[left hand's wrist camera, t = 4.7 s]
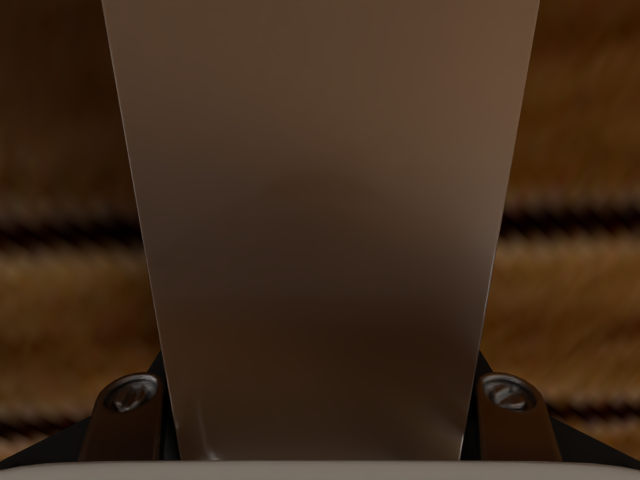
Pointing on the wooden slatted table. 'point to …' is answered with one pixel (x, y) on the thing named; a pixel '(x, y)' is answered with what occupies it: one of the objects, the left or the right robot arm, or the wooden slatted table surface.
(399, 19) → the beam
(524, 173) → the wooden slatted table surface
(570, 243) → the wooden slatted table surface
